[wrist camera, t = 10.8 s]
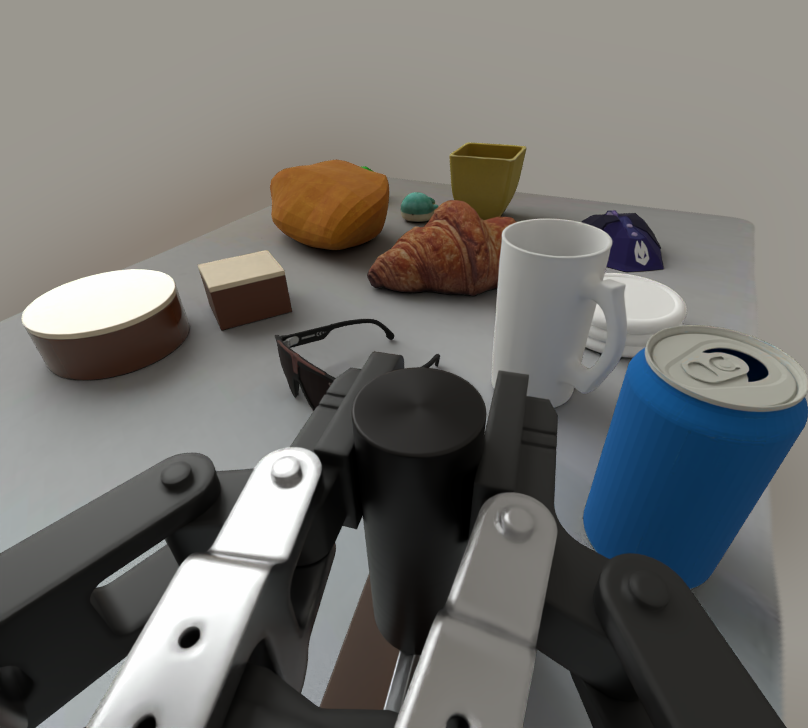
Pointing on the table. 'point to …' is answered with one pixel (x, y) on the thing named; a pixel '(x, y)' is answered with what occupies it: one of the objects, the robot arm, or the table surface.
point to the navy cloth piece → (629, 242)
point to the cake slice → (245, 288)
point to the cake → (107, 324)
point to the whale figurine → (418, 207)
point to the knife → (415, 499)
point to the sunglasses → (305, 372)
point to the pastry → (444, 254)
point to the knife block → (362, 663)
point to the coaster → (639, 313)
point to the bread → (330, 204)
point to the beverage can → (693, 446)
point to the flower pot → (486, 176)
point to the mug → (555, 307)
